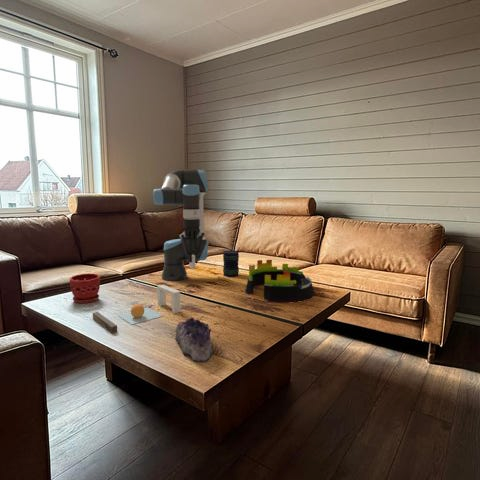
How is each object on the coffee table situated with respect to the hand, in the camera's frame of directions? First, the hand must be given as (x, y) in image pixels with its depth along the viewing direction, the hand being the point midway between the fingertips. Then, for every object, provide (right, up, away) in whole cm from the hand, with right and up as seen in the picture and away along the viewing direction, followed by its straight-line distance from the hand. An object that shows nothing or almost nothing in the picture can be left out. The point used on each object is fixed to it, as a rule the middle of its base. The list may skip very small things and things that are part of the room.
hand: (192, 268), depth 161 cm
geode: (+8, -23, -45) cm, 52 cm away
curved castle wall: (+43, -14, +20) cm, 50 cm away
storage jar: (+17, -9, +55) cm, 58 cm away
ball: (-20, -16, -18) cm, 32 cm away
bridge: (-10, -17, -6) cm, 21 cm away
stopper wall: (-31, -20, -26) cm, 45 cm away
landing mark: (-20, -19, -16) cm, 32 cm away
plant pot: (-52, -16, +4) cm, 54 cm away
